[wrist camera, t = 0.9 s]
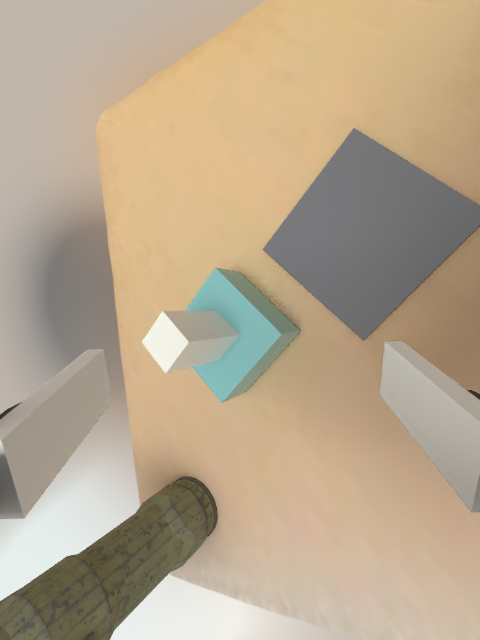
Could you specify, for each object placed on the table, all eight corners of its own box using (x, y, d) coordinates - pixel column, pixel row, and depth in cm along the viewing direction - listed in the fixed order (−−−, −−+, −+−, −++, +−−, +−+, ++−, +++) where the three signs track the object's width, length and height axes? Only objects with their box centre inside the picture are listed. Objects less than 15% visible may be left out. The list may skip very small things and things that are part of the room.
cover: (240, 272, 42) (160, 256, 29) (300, 330, 38) (238, 341, 25) (195, 333, 46) (106, 342, 33) (246, 391, 42) (168, 427, 29)
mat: (355, 130, 35) (353, 128, 34) (490, 214, 29) (491, 213, 29) (264, 250, 40) (262, 249, 40) (364, 339, 35) (363, 340, 34)
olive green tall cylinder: (229, 549, 44) (-194, 1077, 14) (164, 526, 50) (-235, 862, 20) (226, 484, 44) (-206, 872, 14) (161, 469, 50) (-243, 717, 20)
